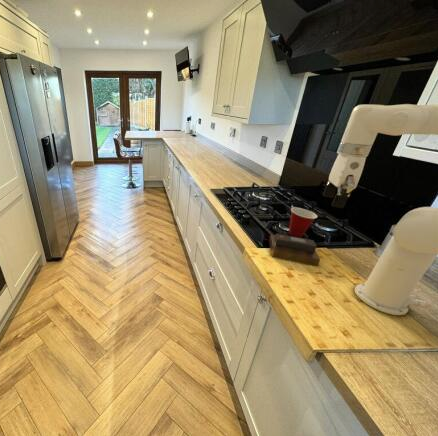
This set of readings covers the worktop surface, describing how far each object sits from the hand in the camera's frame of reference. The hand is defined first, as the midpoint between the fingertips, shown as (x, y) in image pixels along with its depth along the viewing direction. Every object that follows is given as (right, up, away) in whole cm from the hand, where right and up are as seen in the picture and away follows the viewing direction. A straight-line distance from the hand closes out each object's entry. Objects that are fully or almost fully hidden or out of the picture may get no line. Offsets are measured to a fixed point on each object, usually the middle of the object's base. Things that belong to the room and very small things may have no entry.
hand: (332, 201), depth 79 cm
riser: (-2, -20, +19) cm, 28 cm away
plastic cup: (+9, -13, +33) cm, 37 cm away
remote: (-2, -17, +18) cm, 25 cm away
